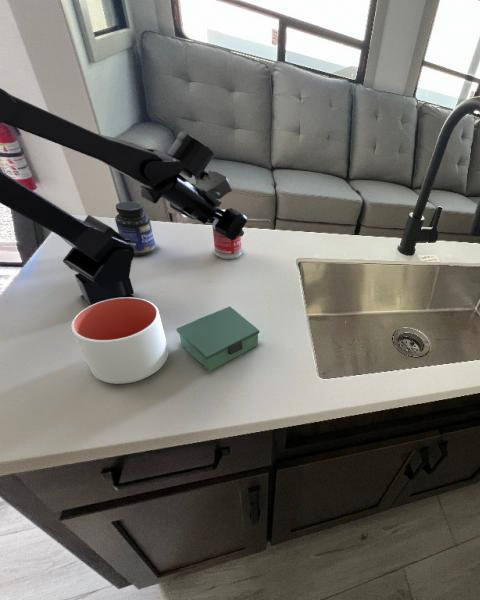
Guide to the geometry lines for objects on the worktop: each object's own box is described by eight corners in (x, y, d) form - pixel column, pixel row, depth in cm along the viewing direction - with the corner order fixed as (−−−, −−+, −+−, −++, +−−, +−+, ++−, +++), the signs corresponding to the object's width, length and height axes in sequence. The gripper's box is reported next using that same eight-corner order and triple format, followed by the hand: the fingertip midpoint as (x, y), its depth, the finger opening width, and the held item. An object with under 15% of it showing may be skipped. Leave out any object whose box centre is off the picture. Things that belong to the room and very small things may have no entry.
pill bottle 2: (238, 261, 83) (236, 221, 77) (211, 257, 82) (207, 216, 75) (244, 249, 88) (242, 210, 82) (219, 245, 86) (215, 206, 80)
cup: (85, 393, 48) (60, 346, 43) (100, 345, 55) (81, 298, 50) (166, 381, 53) (154, 337, 47) (172, 338, 60) (162, 295, 54)
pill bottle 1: (151, 257, 76) (140, 213, 70) (119, 255, 74) (105, 209, 68) (159, 244, 81) (150, 202, 74) (130, 242, 79) (118, 198, 72)
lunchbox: (210, 374, 56) (207, 358, 54) (178, 343, 59) (174, 327, 57) (261, 346, 63) (260, 331, 61) (230, 320, 67) (229, 305, 64)
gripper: (238, 178, 66) (277, 216, 81) (173, 148, 70) (222, 189, 85) (207, 224, 64) (253, 254, 79) (143, 190, 69) (198, 224, 84)
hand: (231, 228), depth 82 cm, fingers open, 7 cm apart
